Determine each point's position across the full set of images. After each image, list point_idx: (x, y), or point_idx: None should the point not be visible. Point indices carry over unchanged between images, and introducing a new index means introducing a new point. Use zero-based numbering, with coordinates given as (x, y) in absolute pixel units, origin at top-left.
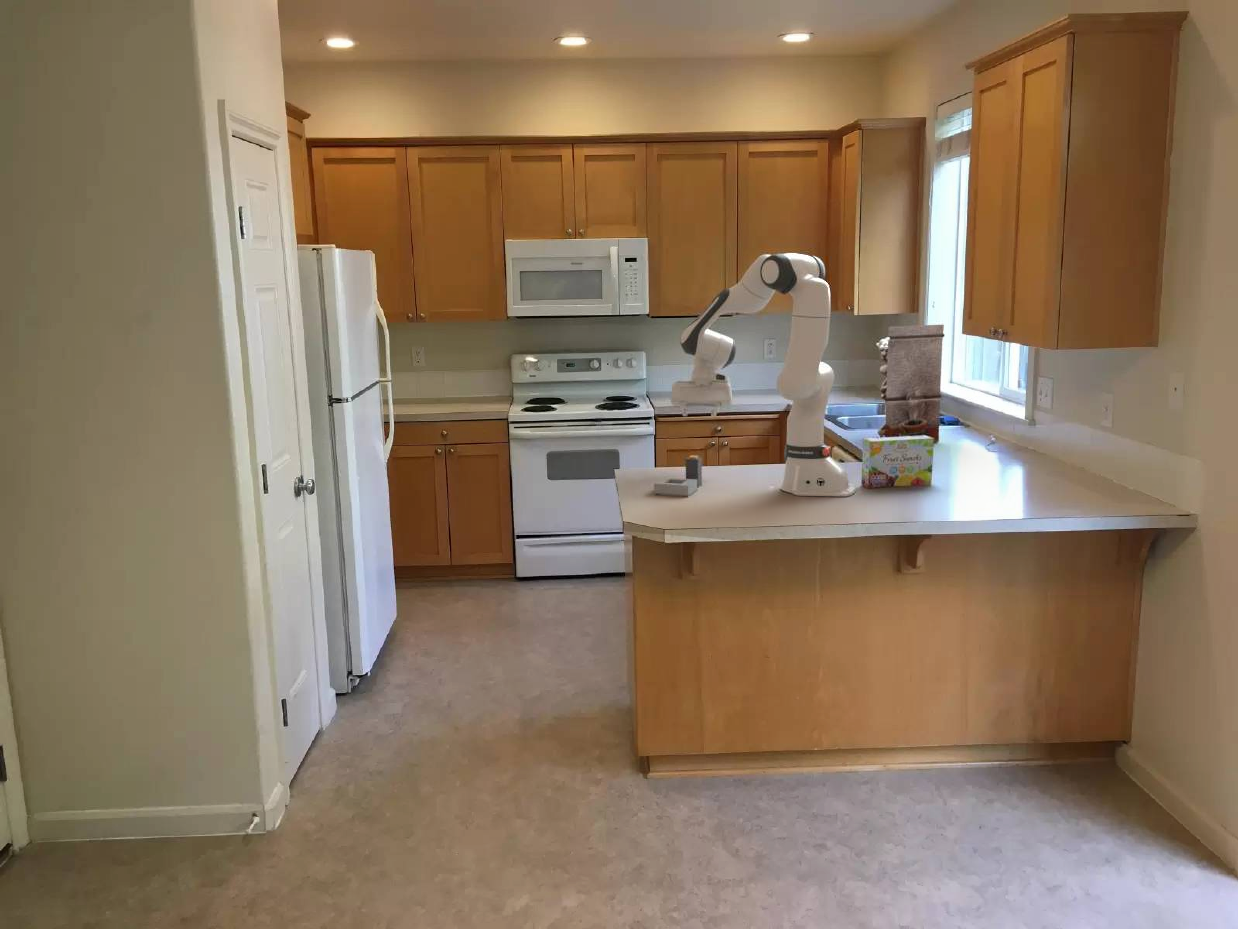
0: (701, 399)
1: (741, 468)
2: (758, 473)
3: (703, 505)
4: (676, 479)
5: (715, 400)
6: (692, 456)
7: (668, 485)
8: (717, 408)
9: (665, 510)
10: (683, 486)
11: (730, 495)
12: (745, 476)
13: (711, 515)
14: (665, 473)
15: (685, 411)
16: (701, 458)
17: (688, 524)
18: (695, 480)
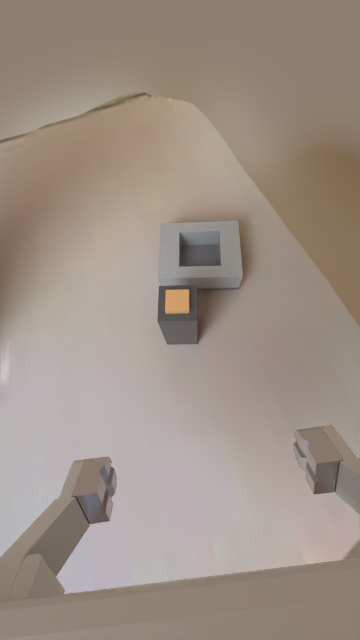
0: (202, 600)
1: None
2: None
3: (122, 198)
4: (205, 266)
5: (11, 610)
6: (179, 294)
7: (204, 223)
8: (39, 516)
9: (173, 159)
10: (171, 224)
11: (87, 272)
12: None
13: (97, 156)
14: None
15: (314, 439)
16: (158, 321)
17: (119, 116)
18: (159, 268)
